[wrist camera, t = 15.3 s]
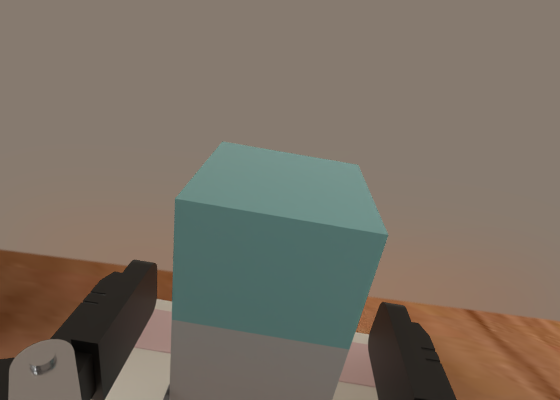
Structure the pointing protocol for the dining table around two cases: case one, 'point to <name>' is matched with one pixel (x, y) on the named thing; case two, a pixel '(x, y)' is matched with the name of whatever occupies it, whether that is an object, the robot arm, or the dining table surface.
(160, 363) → the picture board
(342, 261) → the teal-capped square post
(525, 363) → the dining table surface
